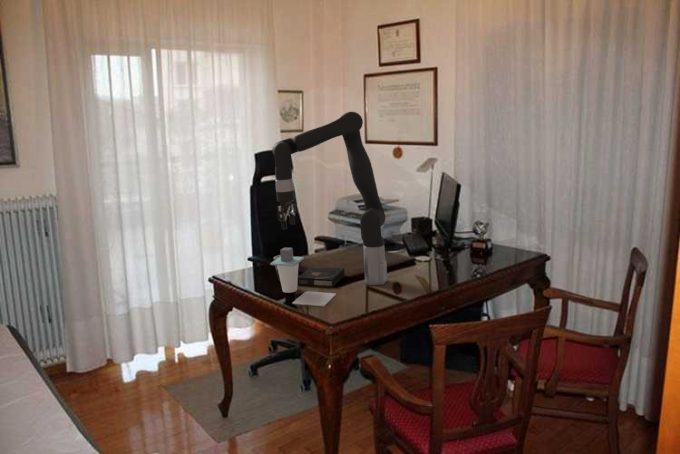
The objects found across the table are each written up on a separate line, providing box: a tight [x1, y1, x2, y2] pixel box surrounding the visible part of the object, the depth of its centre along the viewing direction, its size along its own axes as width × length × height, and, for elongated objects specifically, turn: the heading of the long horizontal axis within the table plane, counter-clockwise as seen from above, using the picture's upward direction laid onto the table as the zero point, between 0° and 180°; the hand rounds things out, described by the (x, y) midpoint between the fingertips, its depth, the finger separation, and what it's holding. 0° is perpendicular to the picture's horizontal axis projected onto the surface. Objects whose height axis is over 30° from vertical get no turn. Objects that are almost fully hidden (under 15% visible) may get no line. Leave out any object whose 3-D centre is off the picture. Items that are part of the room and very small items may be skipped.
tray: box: [291, 290, 337, 307], centre depth 236 cm, size 14×14×1 cm
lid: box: [269, 247, 305, 266], centre depth 245 cm, size 11×11×6 cm
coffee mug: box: [273, 254, 281, 280], centre depth 266 cm, size 12×9×10 cm
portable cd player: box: [297, 265, 346, 288], centre depth 259 cm, size 16×17×4 cm
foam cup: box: [277, 262, 300, 294], centre depth 247 cm, size 10×9×13 cm
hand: (288, 226), depth 243 cm, fingers open, 8 cm apart
